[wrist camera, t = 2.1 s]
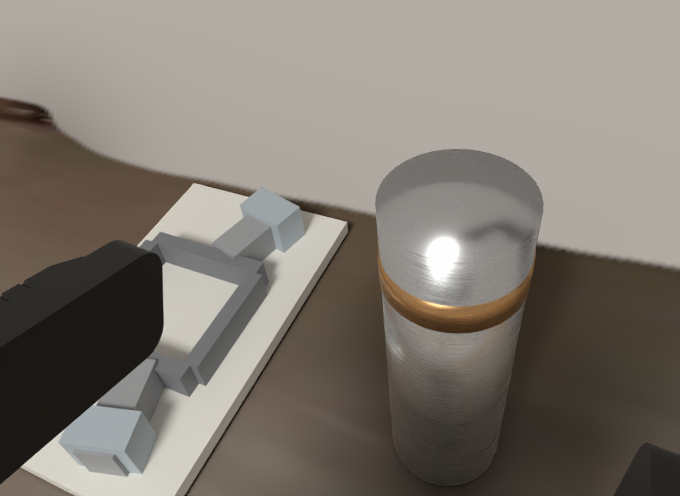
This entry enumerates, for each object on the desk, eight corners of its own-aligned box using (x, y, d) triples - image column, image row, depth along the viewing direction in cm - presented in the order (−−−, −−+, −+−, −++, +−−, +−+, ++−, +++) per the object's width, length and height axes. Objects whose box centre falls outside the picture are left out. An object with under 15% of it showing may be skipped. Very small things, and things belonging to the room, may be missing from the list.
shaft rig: (197, 192, 41) (184, 156, 38) (348, 231, 37) (343, 193, 34) (-27, 443, 29) (-62, 411, 27) (157, 538, 25) (133, 510, 23)
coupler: (466, 374, 29) (490, 132, 19) (519, 462, 26) (581, 227, 16) (375, 409, 28) (349, 175, 18) (418, 504, 25) (416, 284, 15)
